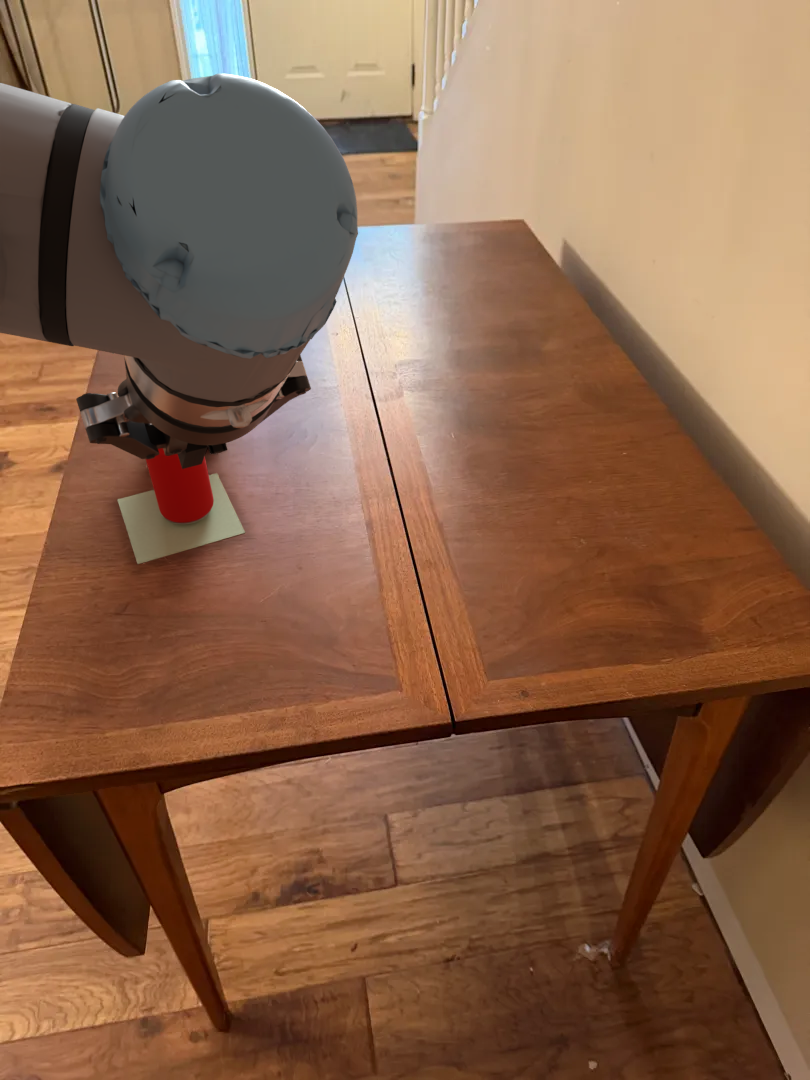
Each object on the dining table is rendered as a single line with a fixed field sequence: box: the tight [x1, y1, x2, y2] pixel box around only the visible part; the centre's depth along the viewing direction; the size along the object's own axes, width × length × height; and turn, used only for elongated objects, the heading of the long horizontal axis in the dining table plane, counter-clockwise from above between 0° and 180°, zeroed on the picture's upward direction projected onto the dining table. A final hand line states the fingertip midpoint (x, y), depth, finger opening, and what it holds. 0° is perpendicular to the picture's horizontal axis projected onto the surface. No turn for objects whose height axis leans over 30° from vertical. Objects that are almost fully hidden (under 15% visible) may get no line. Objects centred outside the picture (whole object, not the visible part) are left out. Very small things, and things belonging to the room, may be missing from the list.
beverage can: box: [145, 448, 214, 524], centre depth 86 cm, size 6×6×12 cm
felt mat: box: [116, 472, 246, 565], centre depth 90 cm, size 12×12×1 cm
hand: (186, 449), depth 59 cm, fingers closed
